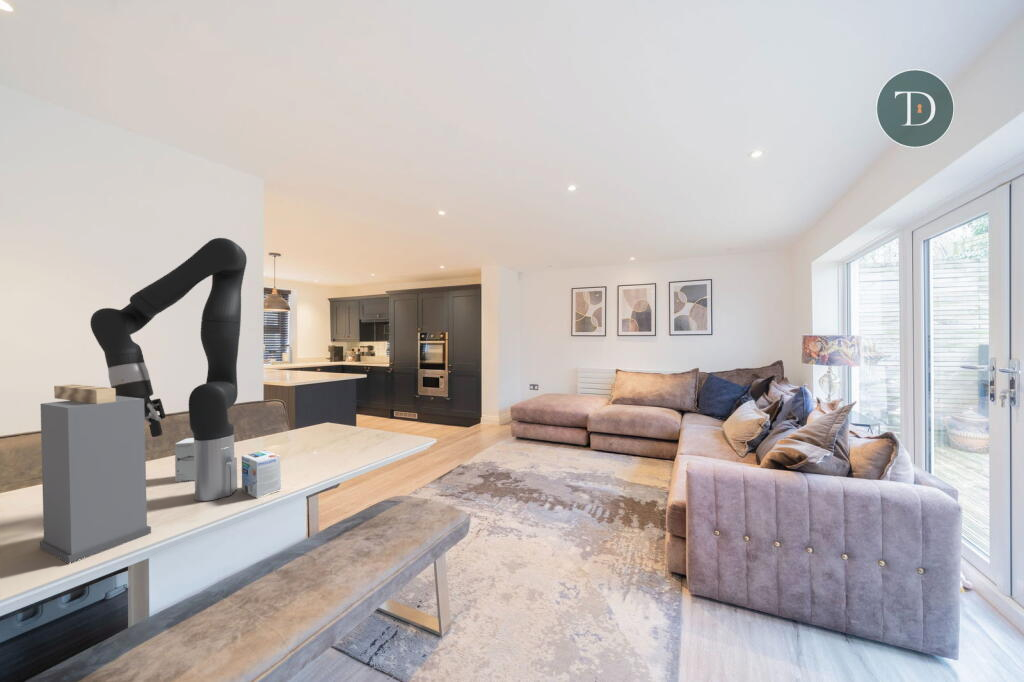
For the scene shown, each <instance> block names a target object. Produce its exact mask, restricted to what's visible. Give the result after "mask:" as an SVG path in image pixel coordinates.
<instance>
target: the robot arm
mask: <svg viewBox="0 0 1024 682" xmlns="http://www.w3.org/2000/svg"><path fill="white" fill-rule="evenodd" d="M247 259H248V258H247V255H246V252H245V250H244V248H242V247H241V246H240V245H239V244H237V243H236V242H235V241H234V240H231V239H229V238H227V237H215V238H213V239H210V240H209V241H208V242H206V243H205V244H204V245H202V246H201V247H200V248H199V249H198V250H197V251H196V252H195V253H193V254H192V255H191V256H190V257H189V258H187V259H186V260H185V261H184V262H182V263H181V264H180V265H178V266H176V267H175V268H174V269H172V270H171V271H169V272H168V273H166V274H164V276H162V277H160V278H158V279H157V280H155V281H153V282H151V283H150V284H148V285H147V286H145V287H143V288H141V289H140V290H139V291H137V292H135V293H133V294H132V295H131V296H130V298H129V304H127V305H126V306H125V307H123V308H122V309H117V308H111V307H105V308H99V309H98V310H96V311H95V312H94V313H92V315H91V318H90V328H91V331H92V334H93V336H94V338H95V339H96V341H97V344H98V345H99V346H100V348H101V349H102V351H103V353H104V357H105V363H106V366H107V372H108V379H109V383H110V384H109V385H110V388H115V391H116V396H124V397H133V398H142V399H144V414H145V421H146V422H147V423H148V427H149V431H150V435H151V437H152V438H155V437H156V438H157V437H160V436H162V435H163V429H162V425H161V422H162V420H164V419H166V418H167V417H166V413H165V410H164V409H165V408H164V406H163V402H162V400H161V398H154V399H151V398H150V397H151V396H153V395H154V390H153V385H152V382H151V378H150V374H149V369H148V368H147V365H146V363H145V359H144V355H143V350H142V348H141V346H140V345H139V344H138V343H136V342H134V341H133V339H132V337H131V336H132V335H133V334H135V333H137V332H139V331H140V330H142V329H143V328H144V327H145V326H146V325H147V324H148V323H149V322H151V321H152V320H153V319H154V318H155V316H157V315H158V314H160V313H162V312H163V311H165V310H166V309H168V308H169V307H171V306H173V305H175V304H176V303H178V302H179V301H180V300H181V299H183V298H184V297H185V296H186V295H187V294H188V293H189V292H190V291H191V290H192V289H193V288H194V287H195V286H197V285H198V284H200V283H201V282H202V281H204V280H205V279H207V278H209V277H211V276H212V277H211V288H210V292H209V295H208V296H207V300H206V302H205V305H204V307H203V310H202V315H201V322H200V340H201V345H202V348H203V351H204V353H205V357H206V359H207V373H206V374H207V376H206V382H205V383H202V384H200V385H198V386H196V387H194V388H193V390H192V391H191V392H190V394H189V398H188V415H189V416H188V417H189V427H190V431H191V432H192V434H193V438H194V469H195V480H194V499H195V501H198V502H206V501H215V500H218V498H219V499H222V498H225V496H226V497H231V496H232V495H233V494H234V493H233V492H236V490H237V489H238V458H237V457H235V427H234V425H233V424H232V423H230V421H229V417H228V409H230V408H231V407H233V406H234V405H235V403H236V402H237V399H238V394H239V393H238V390H239V389H238V374H237V373H238V370H237V365H238V364H237V363H238V356H239V344H240V343H239V342H240V336H241V325H242V324H241V322H242V320H241V319H242V318H241V317H242V286H243V283H244V282H243V280H244V276H245V272H246V266H247V263H248V262H247ZM158 414H159V415H158ZM232 493H233V494H232ZM230 495H231V496H230Z"/></svg>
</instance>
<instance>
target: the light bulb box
mask: <svg viewBox="0 0 1024 682" xmlns="http://www.w3.org/2000/svg"><path fill="white" fill-rule="evenodd" d="M281 456H282V455H279V454H276V453H273V452H271V451H267V450H259V451H256V452H252V453H249V454H244V455H241V491H242V490H243V491H242V492H244V491H245V492H244V493H246V492H247V493H246V494H248V493H249V494H250V496H251V495H252V496H251V497H253V496H254V497H253V498H255V497H256V498H255V499H259V498H258V497H261V496H264V495H266V494H268V493H271V492H274V491H277V490H280V489H281V490H282V483H281V482H282V480H281V476H282V475H281V471H282V470H281ZM249 494H248V495H249ZM264 497H265V496H264ZM261 498H262V497H261Z"/></svg>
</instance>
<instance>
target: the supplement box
mask: <svg viewBox="0 0 1024 682" xmlns="http://www.w3.org/2000/svg"><path fill="white" fill-rule="evenodd" d="M174 446H175V447H174V449H175V450H174V451H175V452H174V456H175V457H174V460H175V464H174V466H175V467H174V468H175V472H174V475H175V476H174V477H175V479H174V480H175V483H177V482H188V480H189V481H195V469H194V437H187V438H184V439H182V440H180V441H178V442H176V443H174Z"/></svg>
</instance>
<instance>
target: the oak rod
mask: <svg viewBox="0 0 1024 682" xmlns="http://www.w3.org/2000/svg"><path fill="white" fill-rule="evenodd" d="M53 389H54V390H53V391H54V399H57V400H63V401H70V400H71V401H79V402H86V403H94V404H100V403H108V402H116V391H115V388H111V387H105V386H104V387H103V386H95V385H85V384H84V385H83V384H75V383H73V384H62V385H54V387H53Z"/></svg>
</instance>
